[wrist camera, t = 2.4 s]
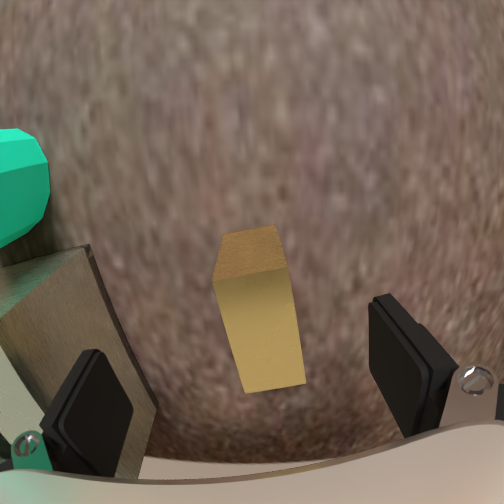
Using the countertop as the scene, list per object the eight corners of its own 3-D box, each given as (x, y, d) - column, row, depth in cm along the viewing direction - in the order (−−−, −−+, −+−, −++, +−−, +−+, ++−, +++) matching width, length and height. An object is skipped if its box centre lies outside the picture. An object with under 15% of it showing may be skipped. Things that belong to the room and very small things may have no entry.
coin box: (89, 243, 15) (-9, 327, 7) (158, 403, 18) (130, 507, 11) (-46, 282, 15) (-113, 335, 8) (17, 398, 19) (-24, 463, 12)
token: (275, 224, 15) (288, 267, 10) (291, 317, 16) (306, 383, 12) (223, 234, 15) (211, 281, 10) (245, 325, 16) (245, 393, 12)
